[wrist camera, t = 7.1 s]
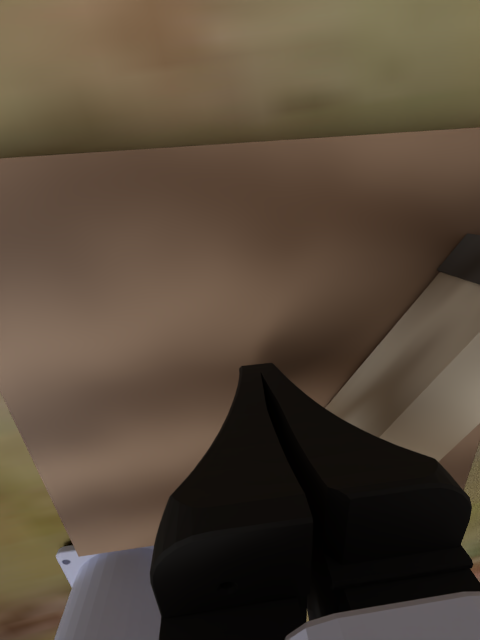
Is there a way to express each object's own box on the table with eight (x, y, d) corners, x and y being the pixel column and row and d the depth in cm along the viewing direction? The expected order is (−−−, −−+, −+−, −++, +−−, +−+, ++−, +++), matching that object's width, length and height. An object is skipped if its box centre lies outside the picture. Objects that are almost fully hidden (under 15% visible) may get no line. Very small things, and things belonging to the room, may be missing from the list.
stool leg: (283, 525, 17) (300, 596, 14) (235, 509, 16) (241, 581, 13) (517, 275, 12) (618, 302, 9) (467, 233, 11) (561, 246, 8)
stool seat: (430, 464, 20) (496, 544, 15) (94, 511, 18) (58, 614, 14) (515, 134, 12) (693, 99, 8) (-41, 171, 11) (-217, 154, 6)
